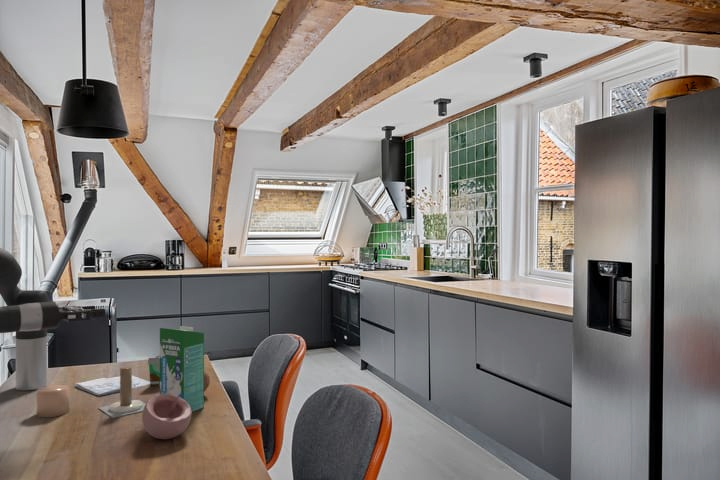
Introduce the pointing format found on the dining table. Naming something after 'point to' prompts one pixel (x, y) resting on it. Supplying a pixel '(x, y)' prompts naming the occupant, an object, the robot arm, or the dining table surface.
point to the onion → (206, 380)
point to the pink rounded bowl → (166, 416)
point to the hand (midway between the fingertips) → (99, 310)
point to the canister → (52, 401)
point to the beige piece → (125, 394)
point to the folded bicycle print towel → (109, 385)
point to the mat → (114, 415)
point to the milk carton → (182, 365)
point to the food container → (154, 371)
